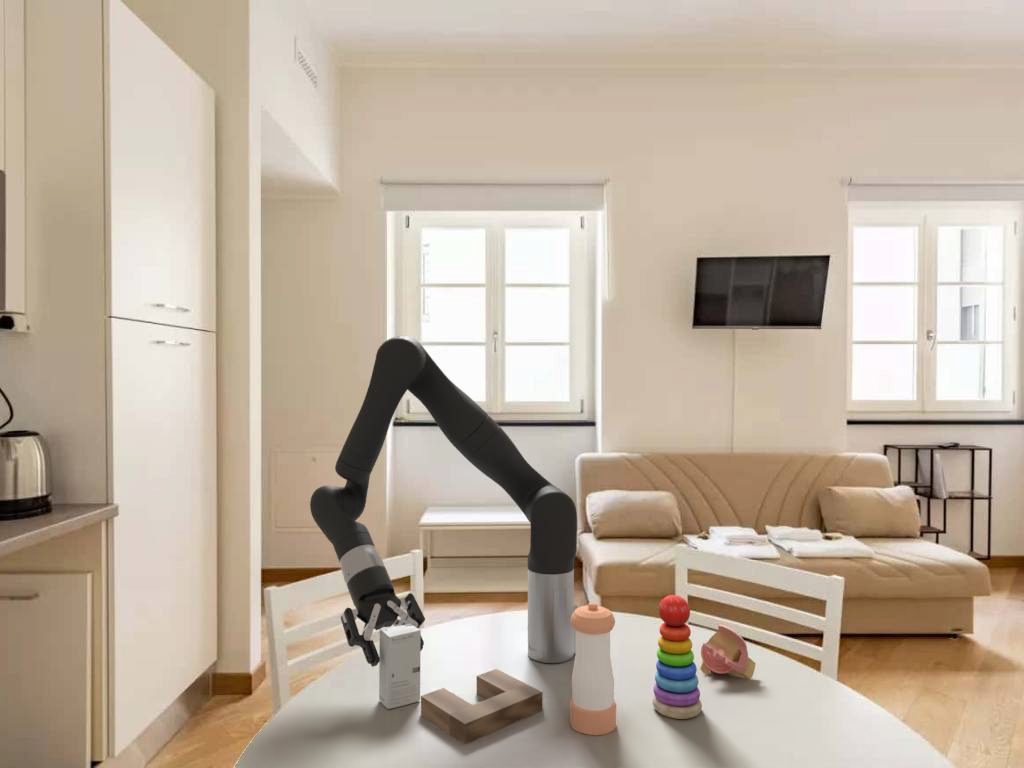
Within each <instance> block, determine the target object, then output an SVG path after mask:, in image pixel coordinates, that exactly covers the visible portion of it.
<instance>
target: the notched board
mask: <svg viewBox="0 0 1024 768" xmlns="http://www.w3.org/2000/svg"><path fill="white" fill-rule="evenodd" d="M476 695H479V696H481V697H483V698H484V700H482V701H479V702H477V703H476V702H475V703H474V704H472V703H470V702H468V701H467V700H465V699H463V698H461V697H460V696H458V695H456V694H455V693H453V692H451V691H449V690H448V689H446V688H445V687H442V688H439V689H437V690H435V691H431V692H428V693H425V694H422V695H420V715H421V716H423V717H424V718H425V719H426V720H429V721H430V722H431V723H433V724H435V726H438V727H439V728H440V727H441V728H440V729H442V730H444V731H445V732H446V731H447V732H446V733H448V734H449V733H450V735H451V736H452V737H454V738H456V739H457V740H458V741H460V742H461V741H462V742H461V743H463V744H465V745H466V744H468V743H470V742H471V743H472V742H473V741H475V740H478V739H480V738H482V737H485V736H487V735H489V734H491V733H494V732H496V731H497V730H500V729H502V728H504V727H507V726H509V725H512V724H514V723H517V722H518V721H521V720H523V719H525V718H527V717H531V716H532V715H534V714H537V713H539V712H541V711H543V691H541V690H540V689H538V688H536V687H533V686H531V685H530V684H527V683H526V682H524V681H522V680H519V679H517V678H515V677H513V676H512V675H509V674H508V673H506V672H504V671H502V670H501V669H498V668H495V669H493V670H489V671H486V672H484V673H482V674H478V675H476Z"/></svg>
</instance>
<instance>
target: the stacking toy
mask: <svg viewBox="0 0 1024 768" xmlns="http://www.w3.org/2000/svg"><path fill="white" fill-rule="evenodd" d="M658 612H659V616H660V619H661V620H662V621H663V622H664V623H661V625H660V626H659V634H660V637H659V638H658V641H657V645H658V647H659V648H658V649H657V651H656V656H657V662H656V663H655V664H656V665H655V667H656V673H655V674H654V680H655V683H654V686H653V694H654V696H653V698H652V705H653V708H654V709H655V710H656V711H657V712H658V713H659V714H661V715H663V716H665V717H668V718H671V719H678V720H685V719H687V720H688V719H691V718H694V717H696V716H698V715H700V713H701V711H702V709H703V708H702V707H703V705H702V700H700V699H701V698H700V697H701V692H700V689H699V687H698V686H699V677H698V675H697V674H696V673H697V670H698V669H697V665H696V663H695V661H694V660H695V653H694V652H693V650H692V648H693V642H692V640H691V638H690V636H691V633H692V631H691V628H690V626H689V625H687V622H688V620H689V619H690V616H691V608H690V605H689V603H688V601H687V600H686V599H685V598H684V597H682V596H680V595H677V594H670V595H667V596H665V597H664V598H662V599H661V601H660V602H659V607H658Z"/></svg>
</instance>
